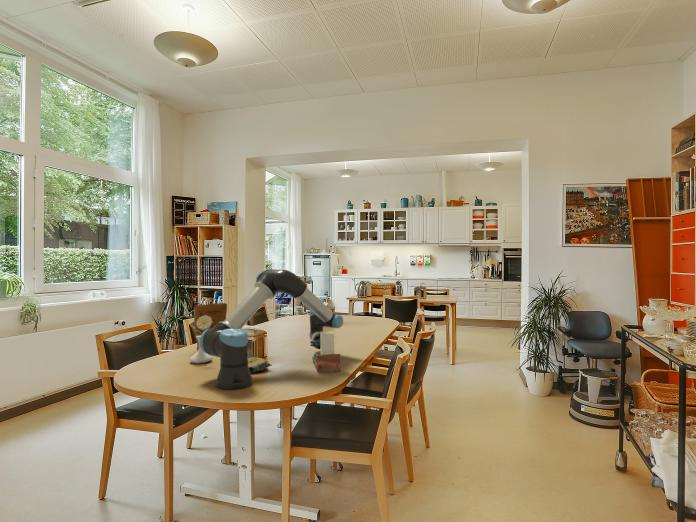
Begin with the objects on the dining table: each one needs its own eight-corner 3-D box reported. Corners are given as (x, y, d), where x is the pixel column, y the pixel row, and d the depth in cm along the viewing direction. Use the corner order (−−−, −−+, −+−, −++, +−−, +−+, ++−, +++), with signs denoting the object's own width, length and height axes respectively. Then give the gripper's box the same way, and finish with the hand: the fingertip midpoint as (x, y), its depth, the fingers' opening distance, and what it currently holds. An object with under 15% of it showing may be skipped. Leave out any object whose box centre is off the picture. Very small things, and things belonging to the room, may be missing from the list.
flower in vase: (184, 363, 213) (184, 316, 213) (199, 358, 224) (198, 313, 224) (205, 365, 209) (205, 317, 209) (219, 360, 220) (218, 314, 220)
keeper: (320, 363, 202) (320, 331, 202) (332, 362, 204) (332, 331, 203) (322, 366, 197) (321, 333, 196) (334, 366, 198) (334, 333, 198)
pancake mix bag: (228, 349, 245) (227, 303, 245) (194, 352, 239) (193, 304, 238) (227, 347, 252) (226, 302, 251) (194, 350, 245) (193, 303, 245)
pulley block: (245, 348, 221) (273, 358, 198) (246, 358, 221) (274, 369, 198) (220, 356, 212) (246, 368, 189) (222, 367, 212) (248, 380, 189)
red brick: (312, 360, 218) (312, 345, 218) (332, 359, 220) (332, 344, 220) (317, 372, 194) (317, 356, 194) (340, 371, 196) (340, 354, 196)
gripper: (331, 345, 228) (340, 356, 205) (308, 347, 225) (315, 358, 202) (331, 332, 228) (340, 341, 205) (307, 333, 225) (314, 343, 202)
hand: (327, 349), depth 203 cm, fingers closed
